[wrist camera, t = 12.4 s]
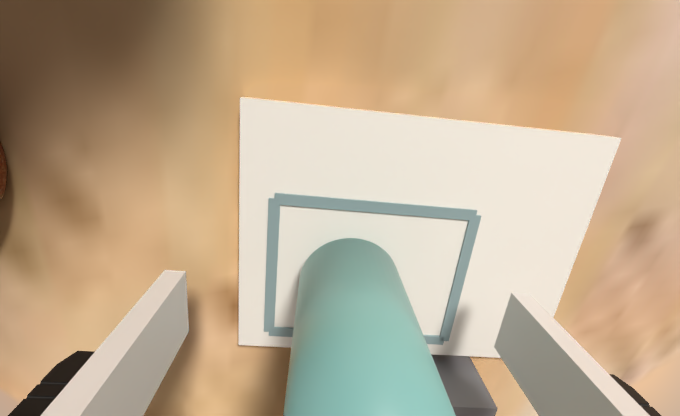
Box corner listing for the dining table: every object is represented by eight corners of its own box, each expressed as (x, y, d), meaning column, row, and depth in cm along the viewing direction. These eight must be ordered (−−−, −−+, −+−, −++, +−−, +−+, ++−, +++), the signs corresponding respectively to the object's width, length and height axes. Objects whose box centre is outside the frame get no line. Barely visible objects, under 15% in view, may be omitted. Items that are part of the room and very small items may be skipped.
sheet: (242, 334, 18) (238, 346, 17) (244, 96, 14) (239, 97, 13) (528, 348, 19) (538, 361, 18) (606, 135, 15) (623, 138, 14)
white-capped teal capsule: (295, 306, 17) (252, 654, 6) (304, 222, 15) (267, 502, 5) (385, 314, 17) (477, 654, 7) (402, 233, 16) (553, 511, 5)
